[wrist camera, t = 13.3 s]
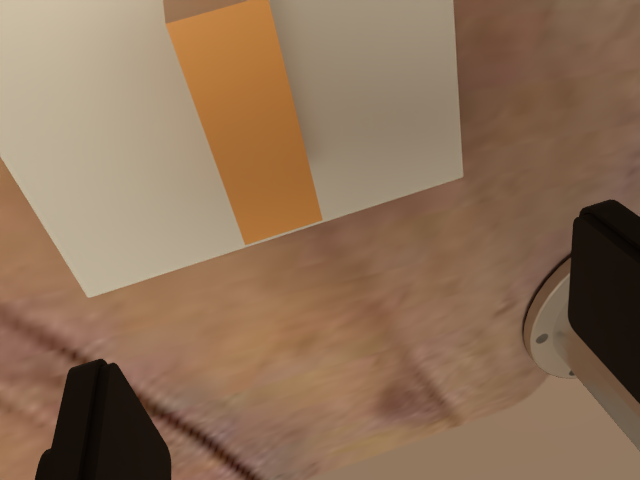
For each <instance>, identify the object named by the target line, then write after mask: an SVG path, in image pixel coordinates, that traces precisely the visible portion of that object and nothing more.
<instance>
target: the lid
mask: <svg viewBox="0 0 640 480" xmlns="http://www.w3.org/2000/svg"><path fill="white" fill-rule="evenodd" d="M0 157H1V158H2V160H3V161H4V163H5V165H6V166H7V168H8V170H9V171H10V173H11V174H12V176H13V178H14V179H15V181H16V182H17V184H18V186H19V187H20V189H21V191H22V192H23V194H24V195H25V197H26V199H27V200H28V202H29V203H30V205H31V207H32V208H33V210H34V211H35V213H36V215H37V216H38V218H39V220H40V221H41V223H42V224H43V226H44V228H45V229H46V231H47V232H48V234H49V236H50V237H51V239H52V240H53V242H54V244H55V245H56V247H57V249H58V250H59V252H60V253H61V255H62V257H63V258H64V260H65V261H66V263H67V265H68V266H69V268H70V270H71V271H72V273H73V274H74V276H75V278H76V279H77V281H78V282H79V284H80V286H81V287H82V289H83V290H84V292H85V294H86V295H87V297H88V298H90V297H94V296H97V295H100V294H103V293H106V292H109V291H112V290H115V289H118V288H121V287H125V286H128V285H131V284H134V283H137V282H140V281H143V280H146V279H149V278H152V277H156V276H159V275H162V274H165V273H168V272H171V271H174V270H177V269H180V268H183V267H187V266H190V265H193V264H196V263H199V262H202V261H205V260H208V259H211V258H214V257H218V256H221V255H224V254H227V253H230V252H233V251H236V250H239V249H242V248H245V247H249V246H252V245H255V244H258V243H261V242H264V241H267V240H270V239H273V238H276V237H279V236H283V235H286V234H289V233H292V232H295V231H298V230H301V229H304V228H307V227H310V226H314V225H317V224H320V223H323V222H326V221H329V220H332V219H335V218H338V217H341V216H345V215H348V214H351V213H354V212H357V211H360V210H363V209H366V208H369V207H372V206H376V205H379V204H382V203H385V202H388V201H391V200H394V199H397V198H400V197H403V196H407V195H410V194H413V193H416V192H419V191H422V190H425V189H428V188H431V187H434V186H438V185H441V184H444V183H447V182H450V181H453V180H456V179H459V178H462V177H463V163H462V146H461V128H460V110H459V93H458V75H457V58H456V40H455V23H454V5H453V0H0Z"/></svg>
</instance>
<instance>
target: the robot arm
mask: <svg viewBox="0 0 640 480" xmlns="http://www.w3.org/2000/svg"><path fill="white" fill-rule="evenodd" d="M524 342H525V347H526V349H527V351H528V353H529V355H530V357H531V358H532V359H533V360H534V361H535V363H536V364H537V365H538V366H539V368H540V369H542V370H543V371H545V372H546V373H548V374H550V375H554V376H556V377H560V378H578V379H579V380H580V381H581V382H582V383H583V385H584V386H585V387H586V388H587V389H588V391H589V392H590V393H591V394H592V395H593V396H594V398H595V399H596V400H597V401H598V402H599V404H600V405H601V406H602V407H603V408H604V409H605V411H606V412H607V413H608V414H609V415H610V417H611V418H612V419H613V420H614V421H615V423H616V424H617V425H618V426H619V427H620V428H621V430H622V431H623V432H624V433H625V434H626V436H627V437H628V438H629V439H630V440H631V442H632V443H633V444H634V445H635V446H636V447H637V449H638V450H639V451H640V217H639V216H637V215H636V214H635V213H633V212H632V211H630V210H629V209H628V208H626V207H625V206H623V205H622V204H620V203H619V202H617V201H615V200H607V201H604V202H601V203H597V204H594V205H591V206H588V207H585V208H583V209H582V210H581V211H580V214H579V217H577V218H575V220H574V223H573V235H572V251H571V257H570V258H569V259H568V260H567V261H566V262H564V263H563V264H562V265H561V266H560V267H559V268H558V269H557V270H556V271H555V272H554V273H553V274H552V275H551V276H550V278H549V279H548V280H547V281H546V282H545V284H544V285H543V287H542V288H541V289H540V291H539V292H538V293H537V295H536V297H535V299H534V301H533V303H532V305H531V307H530V309H529V311H528V314H527V318H526V321H525V325H524ZM35 480H171V457H170V453H169V450H168V447H167V445H166V443H165V442H164V440H163V438H162V437H161V435H160V433H159V432H158V430H157V429H156V427H155V425H154V424H153V422H152V420H151V419H150V417H149V415H148V414H147V412H146V411H145V409H144V407H143V406H142V404H141V402H140V401H139V399H138V398H137V396H136V394H135V393H134V391H133V389H132V388H131V386H130V385H129V383H128V381H127V380H126V378H125V376H124V375H123V373H122V371H121V370H120V368H119V367H118V365H117V364H115V363H111V364H107V363H106V361H105V360H103V359H98V360H95V361H92V362H88V363H85V364H82V365H79V366H76V367H72V368H71V369H70V370H69V372H68V375H67V379H66V384H65V388H64V393H63V397H62V402H61V406H60V411H59V415H58V420H57V424H56V429H55V434H54V438H53V443H52V447H51V449H48V450H46V451H45V452H44V453H43V454H42V456H41V458H40V461H39V464H38V468H37V472H36V476H35Z"/></svg>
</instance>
